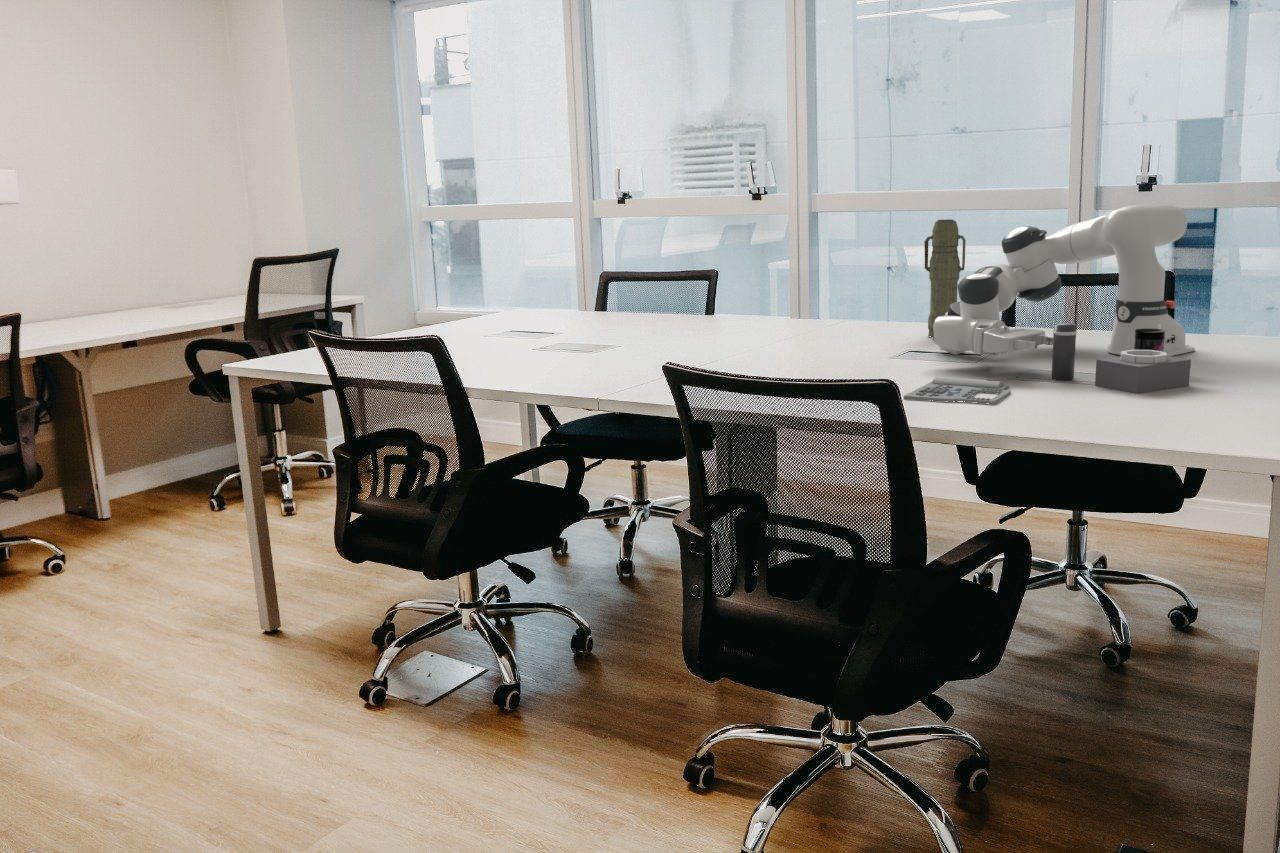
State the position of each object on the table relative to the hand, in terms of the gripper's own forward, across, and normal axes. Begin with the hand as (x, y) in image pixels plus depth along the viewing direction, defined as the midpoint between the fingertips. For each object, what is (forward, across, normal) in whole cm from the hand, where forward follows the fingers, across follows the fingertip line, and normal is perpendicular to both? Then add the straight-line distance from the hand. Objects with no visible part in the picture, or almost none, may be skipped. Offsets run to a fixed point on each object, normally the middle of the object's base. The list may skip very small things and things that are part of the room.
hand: (1045, 343), depth 263 cm
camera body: (+22, -3, -7) cm, 24 cm away
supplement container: (+18, -18, -7) cm, 26 cm away
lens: (+5, -1, -8) cm, 9 cm away
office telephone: (-6, +27, -10) cm, 30 cm away
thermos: (-54, -46, -9) cm, 72 cm away
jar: (-37, -20, -7) cm, 43 cm away
